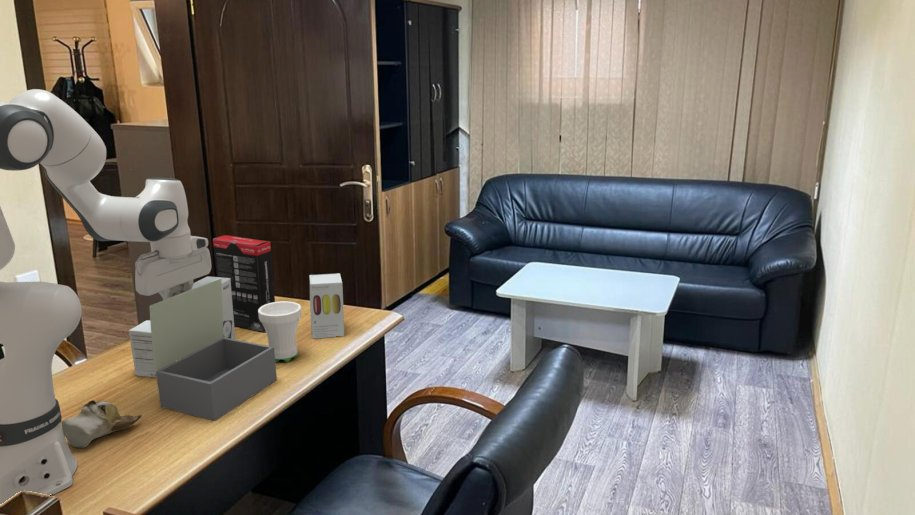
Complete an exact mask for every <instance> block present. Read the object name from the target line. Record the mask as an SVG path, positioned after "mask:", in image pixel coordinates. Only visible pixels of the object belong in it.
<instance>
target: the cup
mask: <svg viewBox="0 0 915 515" xmlns="http://www.w3.org/2000/svg"><path fill="white" fill-rule="evenodd" d="M258 315H259V320H260V321H261V323H262V324H263V326H264V328H265V333H266V336H267V342H268V346H271V347H274V352H275V363H278V362H279V361H281V360H283V361H284V362H287V363H288V362H290V361H291V359H296V358H297V357H298V354H299V353H298V345H297V329H298V324H299V321H300V319H301V317H302V305H301V304H299V303H298V302H294V301H285V300H283V301H282V300H281V301H280V300H279V301H275V302H273V303H268V304H265V305H263V306H261V307H260V308H259V309H258Z"/></svg>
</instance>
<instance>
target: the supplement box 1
mask: <svg viewBox="0 0 915 515" xmlns="http://www.w3.org/2000/svg"><path fill="white" fill-rule="evenodd" d="M128 332H129V333H128V334H129V340H130V347H131V354H132V361H133V362H132V363H133V368H134V373H135V376H138V377H146V378H156V379H157V377H156V371H154V367H153V352H152V338H151V323H150V319H149V320H147V319H146V320H145V321H144V320H143V322H141V323H140V324H138V325H136V326H134V327H132V328H130V329H129V330H128ZM175 362H176V361H175ZM173 363H174V362H173ZM171 364H172V363H171ZM169 365H170V364H169ZM167 366H168V365H167ZM165 367H166V366H165ZM163 368H164V367H163Z"/></svg>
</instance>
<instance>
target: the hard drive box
mask: <svg viewBox="0 0 915 515" xmlns="http://www.w3.org/2000/svg"><path fill="white" fill-rule="evenodd" d="M218 278H221V277H217V276H205V277H204V278H201V279H199V280H197V281H195V282H193V283H194V284H193V287H192V289H193V288H196V287H198V286H201V285H203V284H206V283H208V282H211V281H213V280H216V279H218ZM230 279H231V278H221V285H222V315H223V337H225V338H230V339H235V340H236V332H235V331H236V330H235V326H234V317H233V305H232V293H231V281H230ZM223 337H222V338H223ZM220 339H221V338H220ZM218 340H219V339H218ZM216 341H217V340H216ZM214 342H215V341H214ZM212 343H213V342H212ZM181 359H182V358H181Z"/></svg>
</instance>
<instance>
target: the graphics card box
mask: <svg viewBox="0 0 915 515" xmlns="http://www.w3.org/2000/svg"><path fill="white" fill-rule="evenodd" d="M212 244H213V253H214V265H215V270H216V271H215V272H216V277H221V278H231V279H230V281H231V293H232V305H233V317H234V327H237V328H243V329H247V330H253V331H257V332H261V333H266V331H265V328H264V326H263V324H262V323H261V321H260V320H259V315H258V309H259V308H260V307H261V306H263V305H265V304H268V303H273V302H276V298H275V284H274V274H273V260H272V248H271V246H272V245H271V241H269V240H261V239H255V238H254V239H253V238H247V237H241V236H235V235H227V234H225V235H221V236H217V237H214V238H213V239H212Z"/></svg>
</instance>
